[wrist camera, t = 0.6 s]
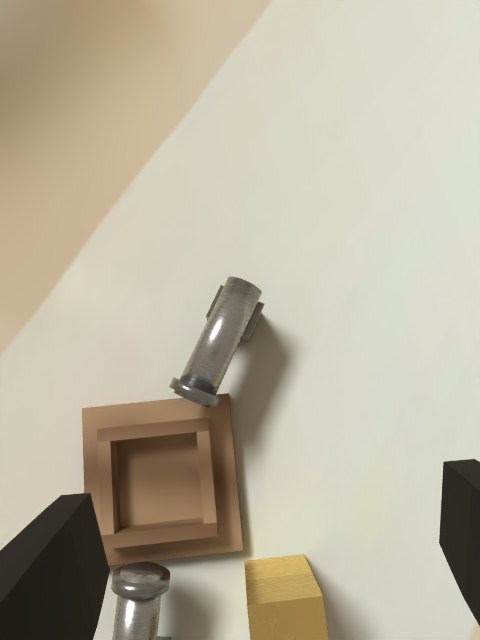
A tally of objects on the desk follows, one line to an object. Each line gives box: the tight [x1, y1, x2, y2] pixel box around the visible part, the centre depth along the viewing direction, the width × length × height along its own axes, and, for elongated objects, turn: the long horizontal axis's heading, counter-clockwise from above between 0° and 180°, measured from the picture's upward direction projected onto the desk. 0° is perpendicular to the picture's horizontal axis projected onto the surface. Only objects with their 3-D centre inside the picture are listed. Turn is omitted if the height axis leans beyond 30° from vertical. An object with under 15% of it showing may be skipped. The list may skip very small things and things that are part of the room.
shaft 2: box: [169, 277, 264, 408], centre depth 27 cm, size 8×3×6 cm, turn 156°
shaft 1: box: [111, 562, 171, 640], centre depth 24 cm, size 8×3×6 cm, turn 176°
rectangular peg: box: [244, 554, 329, 640], centre depth 24 cm, size 4×4×6 cm
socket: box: [82, 394, 243, 566], centre depth 27 cm, size 10×10×2 cm
